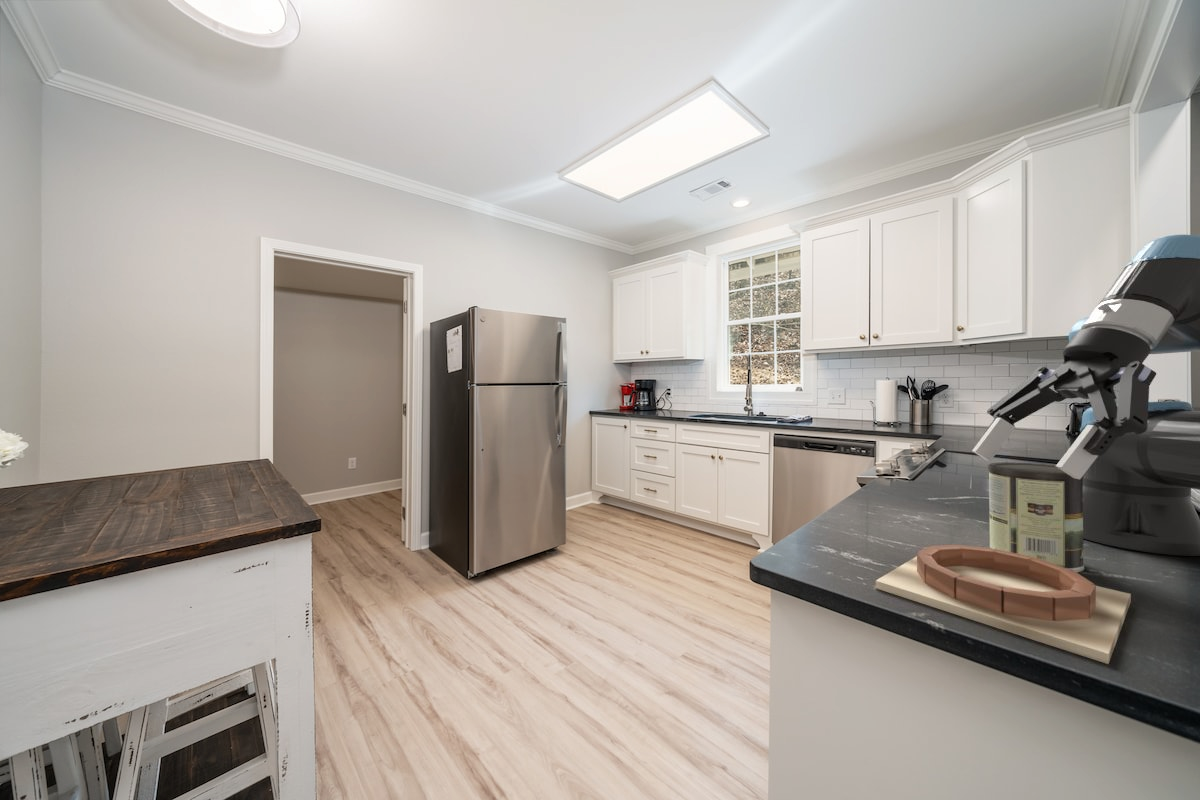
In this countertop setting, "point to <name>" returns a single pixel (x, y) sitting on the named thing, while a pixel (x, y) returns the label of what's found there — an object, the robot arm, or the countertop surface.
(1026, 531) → the coffee can
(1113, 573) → the countertop surface
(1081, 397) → the robot arm
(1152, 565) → the countertop surface
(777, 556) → the countertop surface
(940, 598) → the ring holder
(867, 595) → the countertop surface
